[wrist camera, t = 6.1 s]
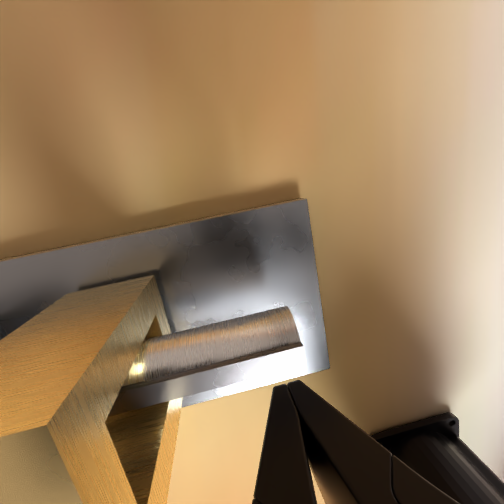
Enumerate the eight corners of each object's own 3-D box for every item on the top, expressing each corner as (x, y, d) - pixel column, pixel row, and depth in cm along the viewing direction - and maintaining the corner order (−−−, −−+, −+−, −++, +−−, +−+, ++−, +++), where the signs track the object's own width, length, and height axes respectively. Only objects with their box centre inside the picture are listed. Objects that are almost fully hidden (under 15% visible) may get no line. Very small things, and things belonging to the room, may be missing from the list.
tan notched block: (154, 274, 13) (46, 425, 5) (185, 380, 14) (145, 637, 6) (67, 293, 12) (-218, 493, 4) (108, 400, 14) (-45, 701, 6)
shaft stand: (300, 198, 14) (366, 204, 8) (323, 358, 17) (387, 457, 11) (-60, 272, 13) (-320, 349, 7) (22, 436, 15) (-111, 606, 9)
